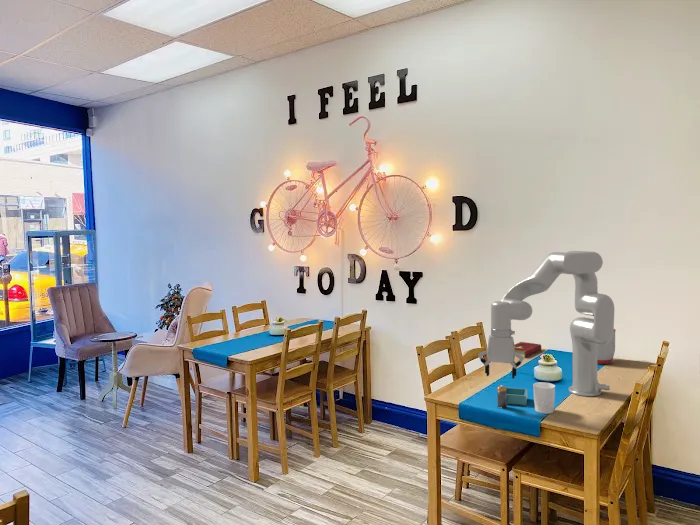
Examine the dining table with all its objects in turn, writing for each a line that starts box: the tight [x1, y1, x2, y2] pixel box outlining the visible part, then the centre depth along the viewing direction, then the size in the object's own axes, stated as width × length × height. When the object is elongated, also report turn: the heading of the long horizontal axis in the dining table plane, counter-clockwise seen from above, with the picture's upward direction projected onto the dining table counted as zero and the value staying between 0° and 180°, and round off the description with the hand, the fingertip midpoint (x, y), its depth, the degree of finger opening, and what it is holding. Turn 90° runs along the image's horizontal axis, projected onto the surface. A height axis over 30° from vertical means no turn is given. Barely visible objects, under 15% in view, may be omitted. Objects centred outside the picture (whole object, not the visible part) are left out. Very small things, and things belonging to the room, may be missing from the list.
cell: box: [496, 384, 508, 409], centre depth 206 cm, size 4×4×9 cm
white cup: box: [532, 381, 556, 415], centre depth 201 cm, size 8×8×10 cm
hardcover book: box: [514, 341, 542, 359], centre depth 291 cm, size 12×21×4 cm, turn 137°
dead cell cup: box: [506, 386, 528, 407], centre depth 213 cm, size 9×9×4 cm
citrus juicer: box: [595, 328, 616, 365], centre depth 267 cm, size 16×17×20 cm
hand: (500, 376), depth 206 cm, fingers open, 9 cm apart
